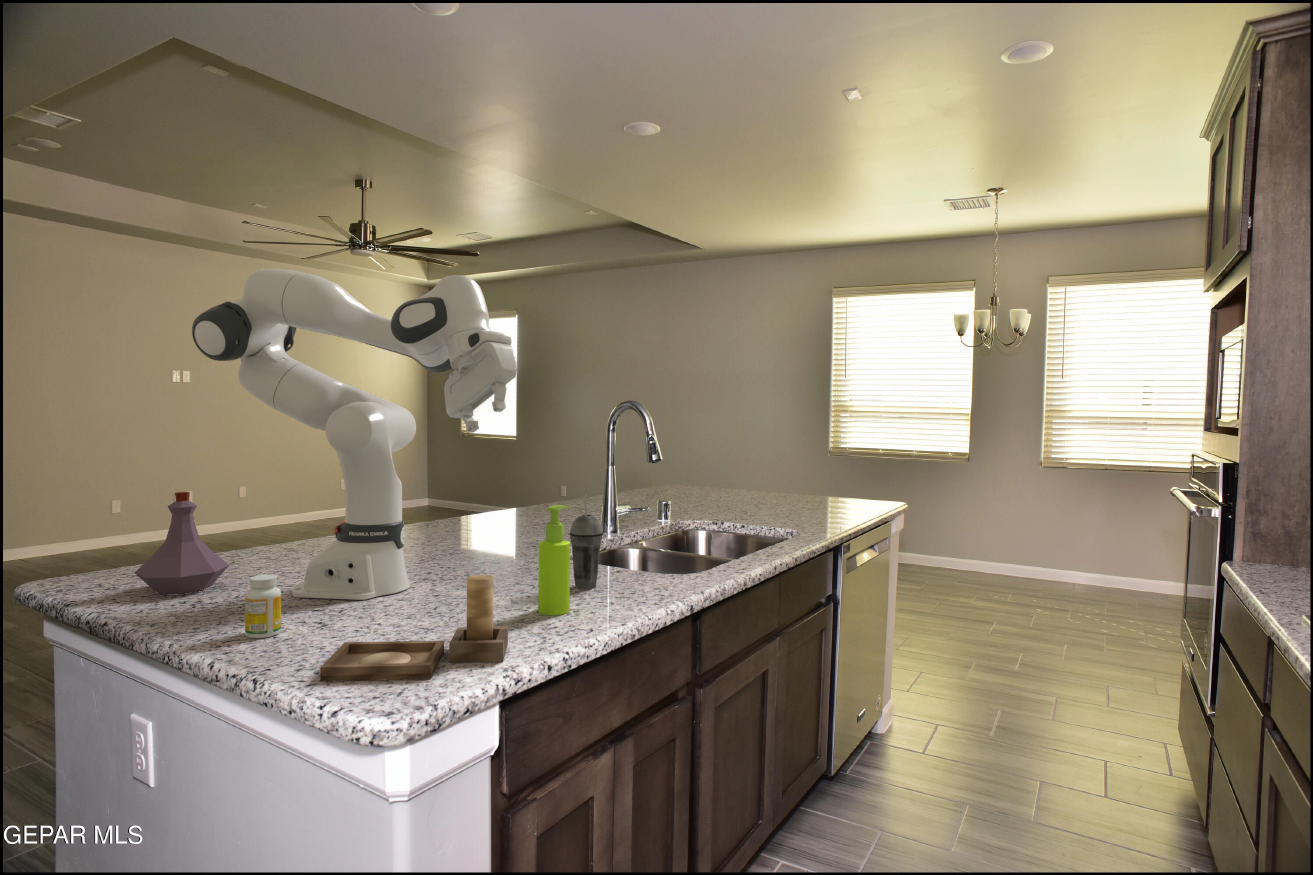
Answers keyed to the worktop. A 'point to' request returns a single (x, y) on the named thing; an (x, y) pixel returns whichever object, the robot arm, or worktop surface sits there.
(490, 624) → the dowel
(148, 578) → the flask
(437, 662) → the tray
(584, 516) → the beverage cup
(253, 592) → the supplement bottle
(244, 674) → the worktop surface
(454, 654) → the socket
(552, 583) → the soap dispenser
